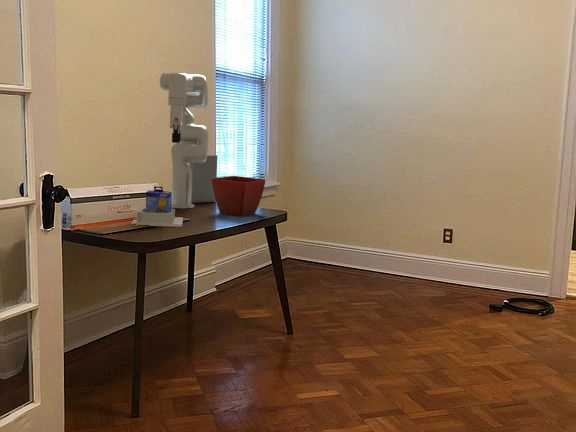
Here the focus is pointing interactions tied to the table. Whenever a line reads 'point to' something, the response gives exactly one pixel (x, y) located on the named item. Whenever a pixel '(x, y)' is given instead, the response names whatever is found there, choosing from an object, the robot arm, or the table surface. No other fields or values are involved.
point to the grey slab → (203, 179)
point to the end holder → (157, 218)
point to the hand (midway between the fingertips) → (176, 142)
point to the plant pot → (237, 194)
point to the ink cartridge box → (158, 200)
